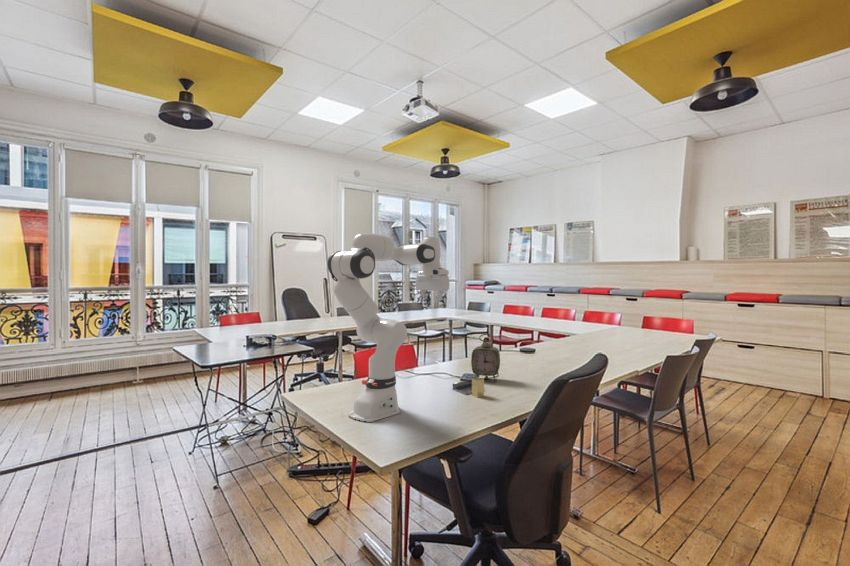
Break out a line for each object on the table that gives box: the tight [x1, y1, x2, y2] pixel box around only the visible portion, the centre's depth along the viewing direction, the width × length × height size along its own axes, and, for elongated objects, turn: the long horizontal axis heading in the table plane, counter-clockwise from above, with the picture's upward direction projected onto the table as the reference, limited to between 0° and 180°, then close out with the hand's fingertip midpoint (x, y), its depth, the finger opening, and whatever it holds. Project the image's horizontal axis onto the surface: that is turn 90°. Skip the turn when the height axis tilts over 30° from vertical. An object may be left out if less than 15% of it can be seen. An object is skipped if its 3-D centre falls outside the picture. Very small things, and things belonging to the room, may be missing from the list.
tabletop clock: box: [470, 333, 501, 382], centre depth 213 cm, size 14×9×25 cm, turn 73°
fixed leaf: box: [452, 379, 472, 396], centre depth 195 cm, size 10×12×4 cm
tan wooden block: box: [471, 377, 485, 399], centre depth 186 cm, size 4×4×8 cm
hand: (431, 299), depth 191 cm, fingers open, 8 cm apart
